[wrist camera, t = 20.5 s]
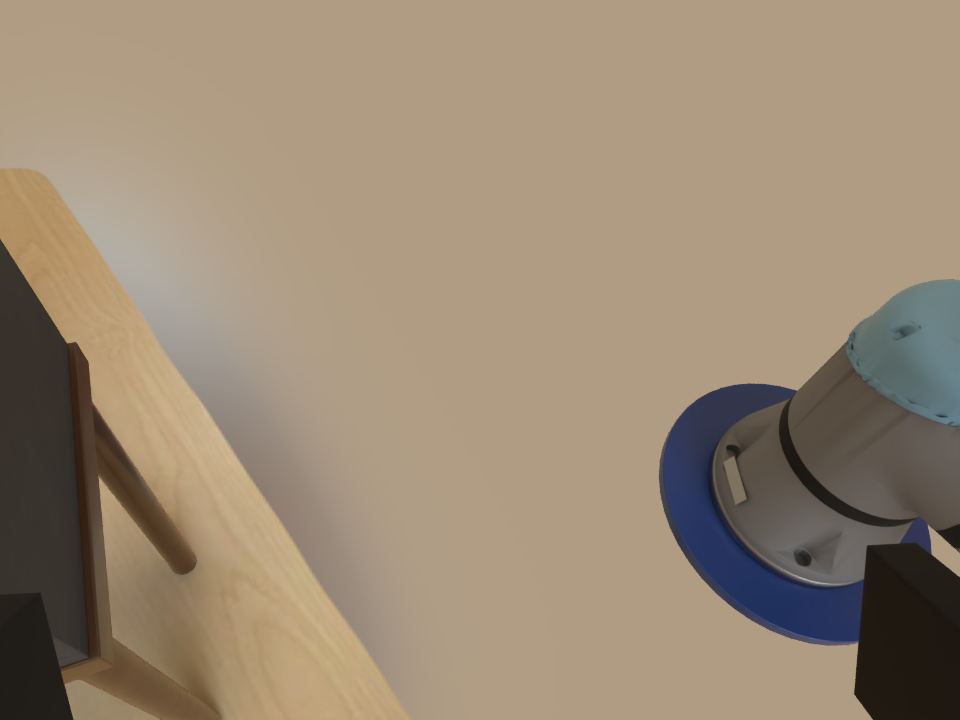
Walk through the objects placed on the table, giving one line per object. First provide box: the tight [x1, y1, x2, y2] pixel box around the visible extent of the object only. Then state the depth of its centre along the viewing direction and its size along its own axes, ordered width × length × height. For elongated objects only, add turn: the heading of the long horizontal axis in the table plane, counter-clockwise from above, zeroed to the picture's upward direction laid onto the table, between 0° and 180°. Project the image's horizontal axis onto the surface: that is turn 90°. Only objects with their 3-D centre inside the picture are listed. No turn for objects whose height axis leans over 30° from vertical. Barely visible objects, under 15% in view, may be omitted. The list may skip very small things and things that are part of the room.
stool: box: [60, 342, 222, 720], centre depth 32 cm, size 14×13×24 cm
